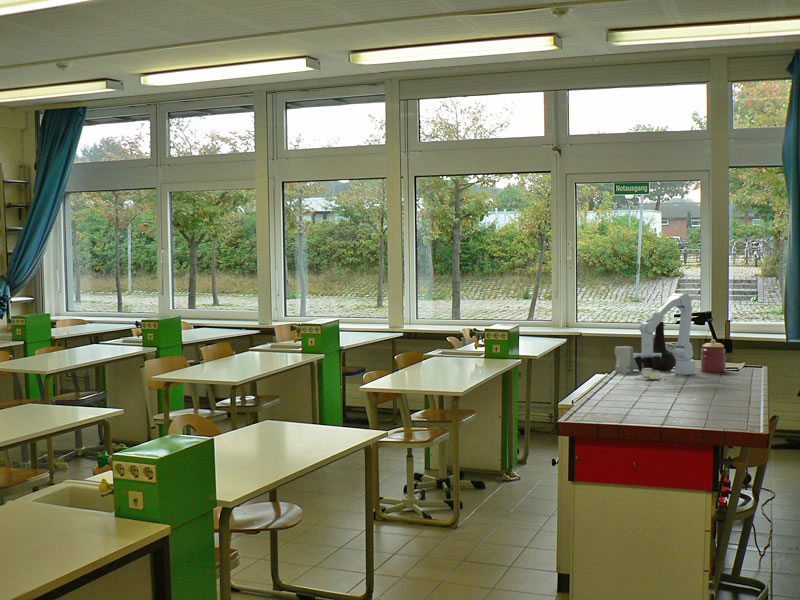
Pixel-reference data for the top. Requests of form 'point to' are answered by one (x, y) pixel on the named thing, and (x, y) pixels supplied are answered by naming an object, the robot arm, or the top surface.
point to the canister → (713, 357)
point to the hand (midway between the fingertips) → (647, 371)
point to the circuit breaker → (625, 359)
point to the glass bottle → (659, 346)
